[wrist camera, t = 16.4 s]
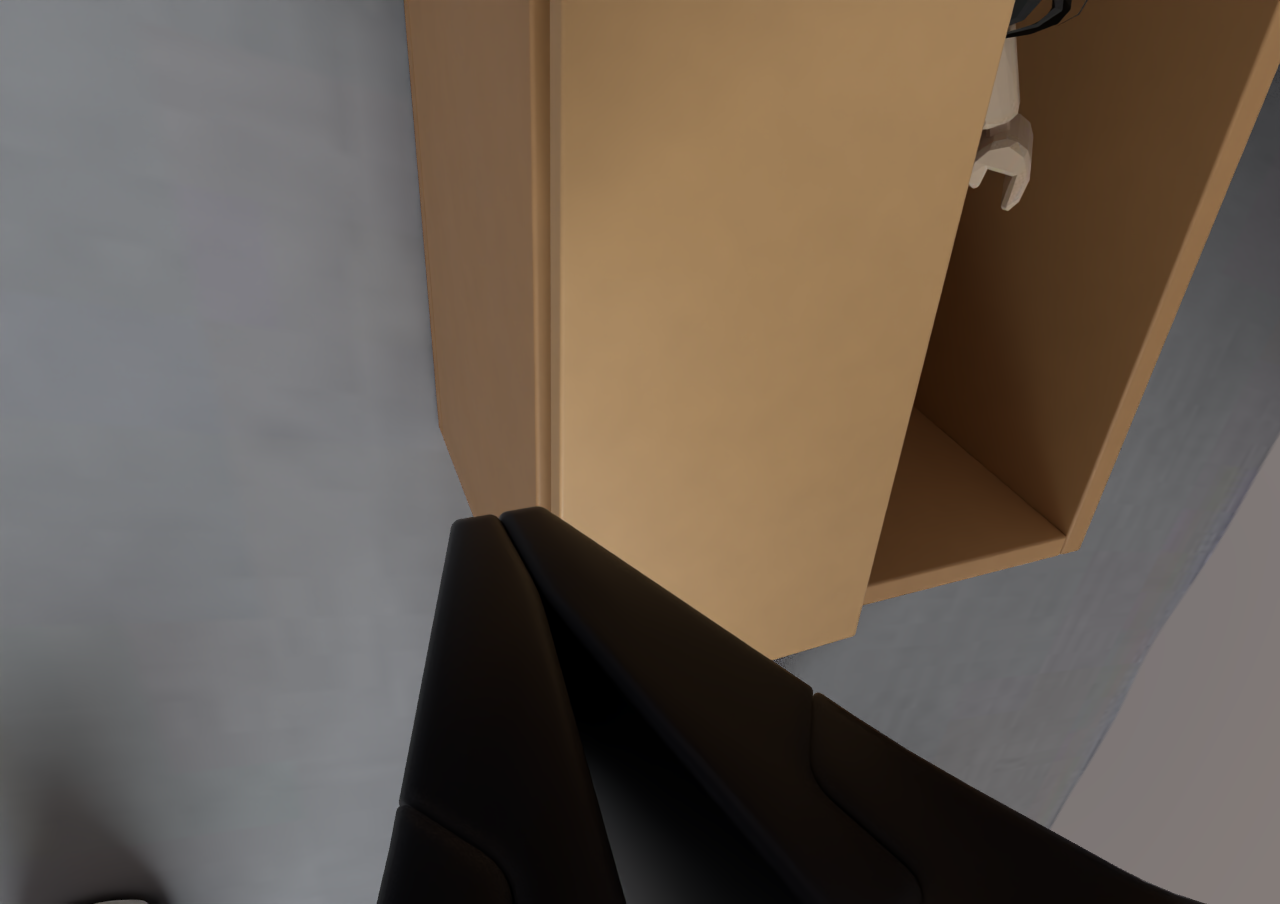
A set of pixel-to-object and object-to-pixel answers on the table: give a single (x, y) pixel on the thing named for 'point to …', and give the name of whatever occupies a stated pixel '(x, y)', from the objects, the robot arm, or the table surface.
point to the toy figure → (1011, 110)
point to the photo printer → (124, 902)
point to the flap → (752, 283)
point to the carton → (973, 287)
